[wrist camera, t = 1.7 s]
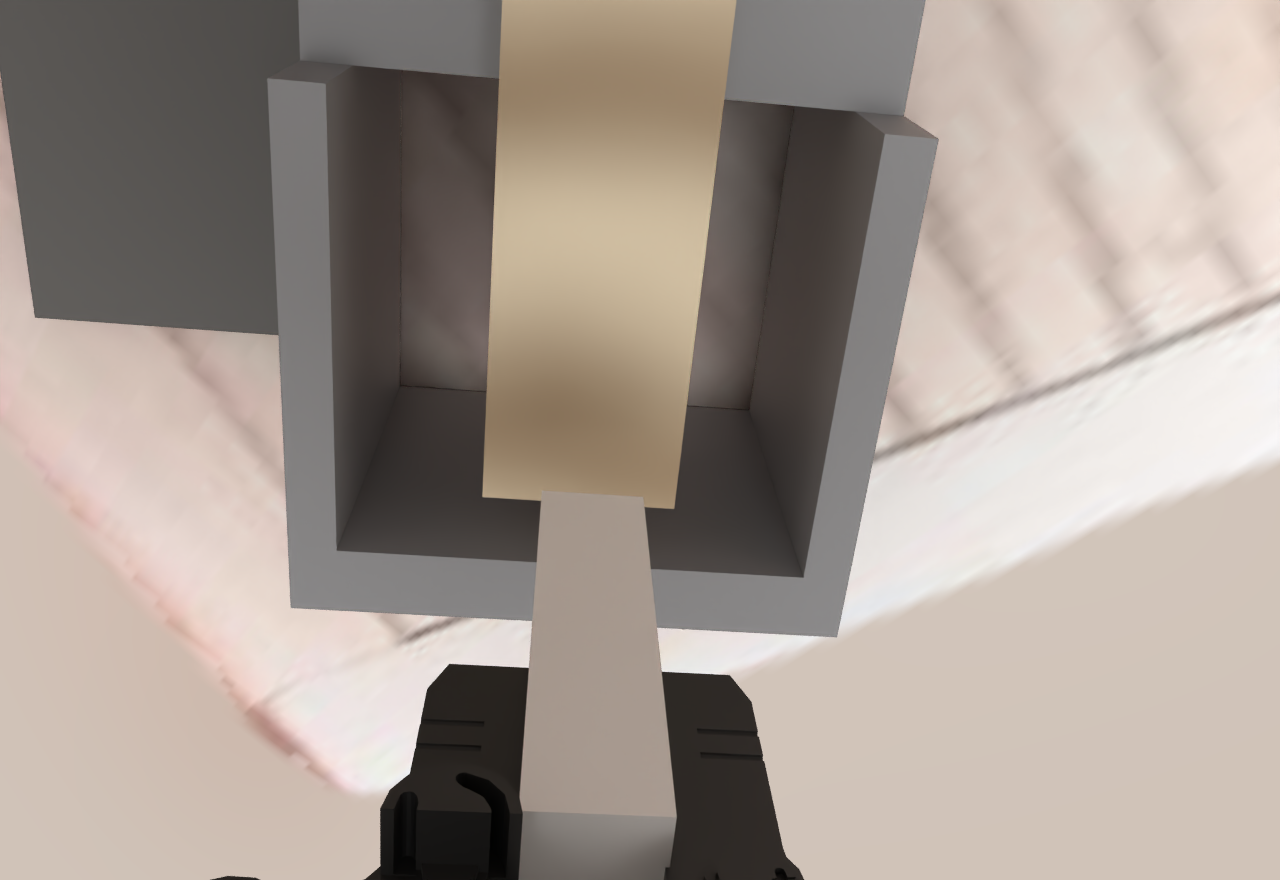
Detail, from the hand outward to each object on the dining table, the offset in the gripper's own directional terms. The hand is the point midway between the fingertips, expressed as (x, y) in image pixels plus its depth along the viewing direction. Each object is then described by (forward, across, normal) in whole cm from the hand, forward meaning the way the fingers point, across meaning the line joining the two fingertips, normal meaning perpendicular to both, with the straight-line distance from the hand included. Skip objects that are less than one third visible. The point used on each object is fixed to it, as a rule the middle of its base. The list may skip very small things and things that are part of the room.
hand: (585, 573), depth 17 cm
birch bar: (+9, 0, +7) cm, 11 cm away
